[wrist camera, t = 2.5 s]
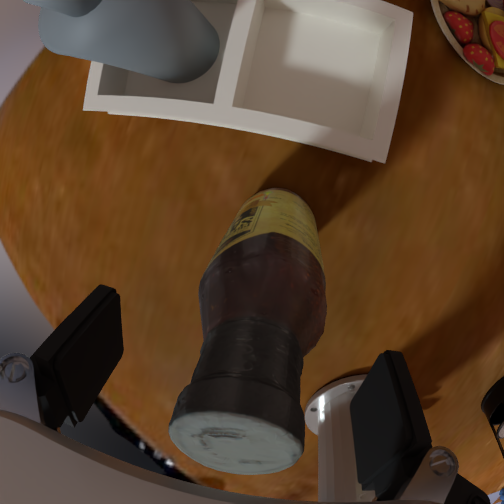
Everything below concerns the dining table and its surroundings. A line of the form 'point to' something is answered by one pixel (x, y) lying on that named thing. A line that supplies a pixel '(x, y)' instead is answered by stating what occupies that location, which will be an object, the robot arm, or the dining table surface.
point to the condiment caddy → (244, 64)
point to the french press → (495, 409)
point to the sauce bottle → (255, 340)
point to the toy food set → (475, 33)
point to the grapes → (502, 495)
